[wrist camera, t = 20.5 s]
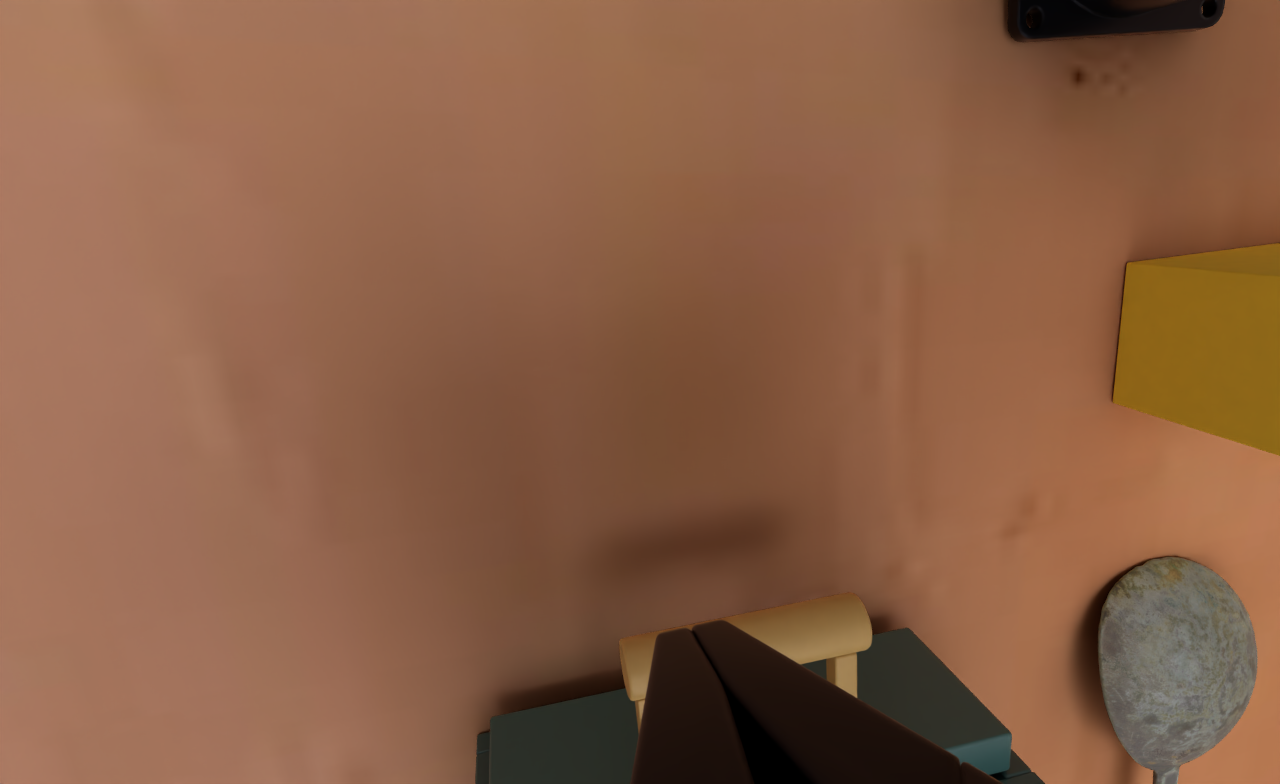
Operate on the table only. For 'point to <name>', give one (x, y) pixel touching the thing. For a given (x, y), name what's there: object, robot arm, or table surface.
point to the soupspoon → (1174, 662)
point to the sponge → (1205, 343)
